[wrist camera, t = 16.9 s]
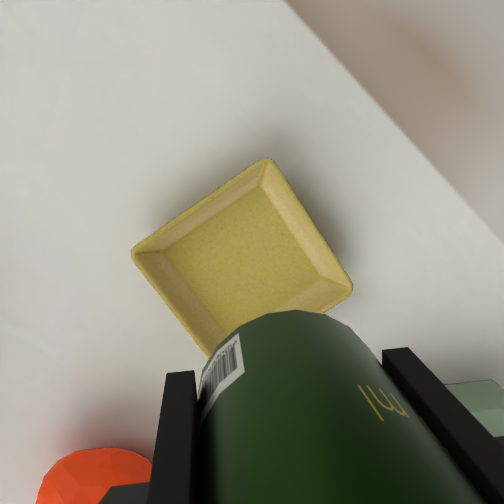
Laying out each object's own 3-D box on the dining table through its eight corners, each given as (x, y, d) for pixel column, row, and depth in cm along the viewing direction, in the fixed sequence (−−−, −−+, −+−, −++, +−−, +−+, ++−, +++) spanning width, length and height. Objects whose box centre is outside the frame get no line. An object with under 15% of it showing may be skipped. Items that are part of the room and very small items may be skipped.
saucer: (131, 243, 26) (124, 252, 24) (264, 151, 25) (269, 152, 23) (222, 361, 28) (223, 379, 26) (347, 279, 28) (358, 291, 25)
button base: (491, 378, 30) (547, 426, 25) (483, 512, 32) (532, 579, 28) (334, 396, 29) (360, 448, 24) (338, 532, 32) (362, 604, 27)
